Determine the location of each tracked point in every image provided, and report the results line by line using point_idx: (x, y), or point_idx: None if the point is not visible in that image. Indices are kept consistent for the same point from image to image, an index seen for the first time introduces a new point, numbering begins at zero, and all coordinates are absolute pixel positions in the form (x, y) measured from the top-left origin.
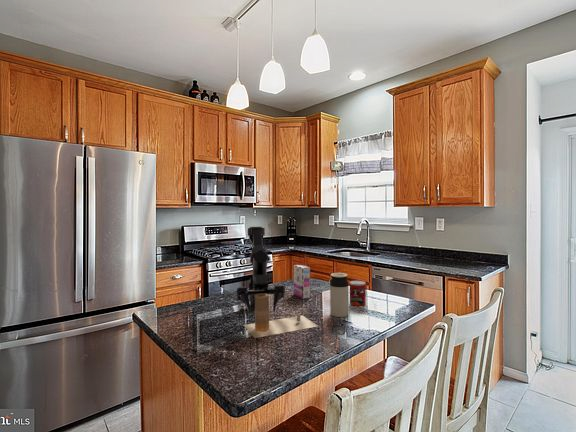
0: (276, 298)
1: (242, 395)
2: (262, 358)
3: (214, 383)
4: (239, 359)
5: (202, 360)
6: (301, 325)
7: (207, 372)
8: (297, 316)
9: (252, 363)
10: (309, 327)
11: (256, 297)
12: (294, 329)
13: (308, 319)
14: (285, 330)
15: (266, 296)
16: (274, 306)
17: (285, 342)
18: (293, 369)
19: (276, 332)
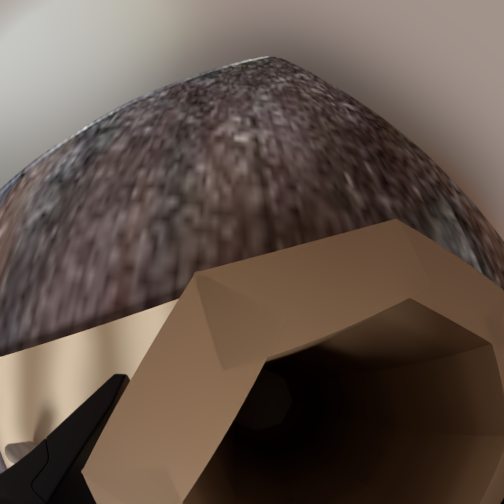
0: (18, 480)
1: (270, 63)
2: (239, 141)
3: (334, 87)
4: (315, 145)
5: (411, 161)
6: (26, 401)
7: (368, 115)
8: (19, 450)
9: (269, 123)
10: (3, 360)
11: (480, 293)
12: (59, 354)
13: (6, 464)
14: (104, 352)
15: (174, 318)
16: (96, 404)
17: (130, 253)
18: (158, 102)
19: (159, 327)
